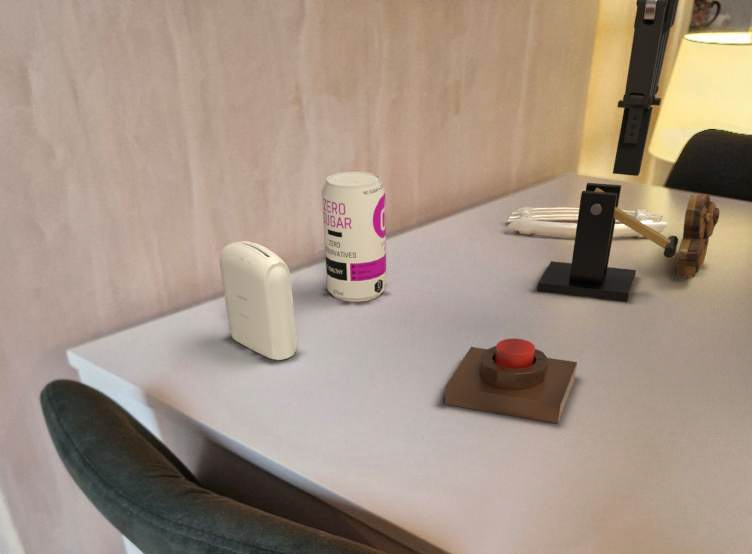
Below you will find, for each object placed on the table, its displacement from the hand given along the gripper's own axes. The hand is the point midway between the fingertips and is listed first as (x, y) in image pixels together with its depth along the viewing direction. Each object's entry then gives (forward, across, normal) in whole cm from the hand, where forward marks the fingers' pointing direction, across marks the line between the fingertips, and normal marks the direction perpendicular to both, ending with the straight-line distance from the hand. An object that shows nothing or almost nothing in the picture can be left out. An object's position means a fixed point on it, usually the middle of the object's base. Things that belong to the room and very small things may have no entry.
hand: (626, 172), depth 84 cm
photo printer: (+19, +19, -37) cm, 46 cm away
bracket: (+18, -14, -4) cm, 24 cm away
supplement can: (+19, -1, -33) cm, 38 cm away
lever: (+11, -14, 0) cm, 18 cm away
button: (+15, +20, -6) cm, 25 cm away
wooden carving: (+18, -26, +9) cm, 33 cm away
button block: (+19, +20, -6) cm, 28 cm away
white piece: (+19, -38, -9) cm, 43 cm away
